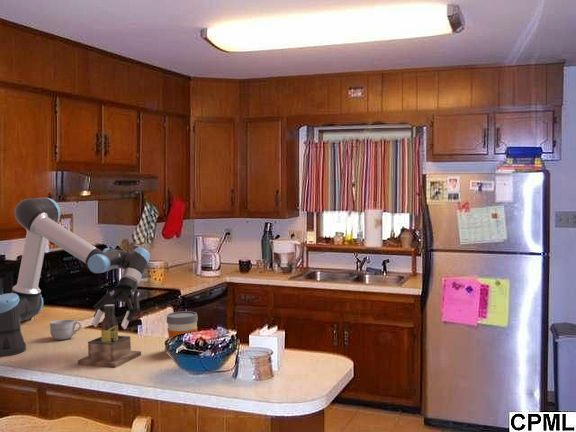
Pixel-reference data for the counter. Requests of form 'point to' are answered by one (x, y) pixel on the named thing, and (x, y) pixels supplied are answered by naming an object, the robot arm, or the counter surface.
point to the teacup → (64, 328)
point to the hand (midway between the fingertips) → (108, 326)
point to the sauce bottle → (109, 325)
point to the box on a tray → (109, 352)
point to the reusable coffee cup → (181, 322)
